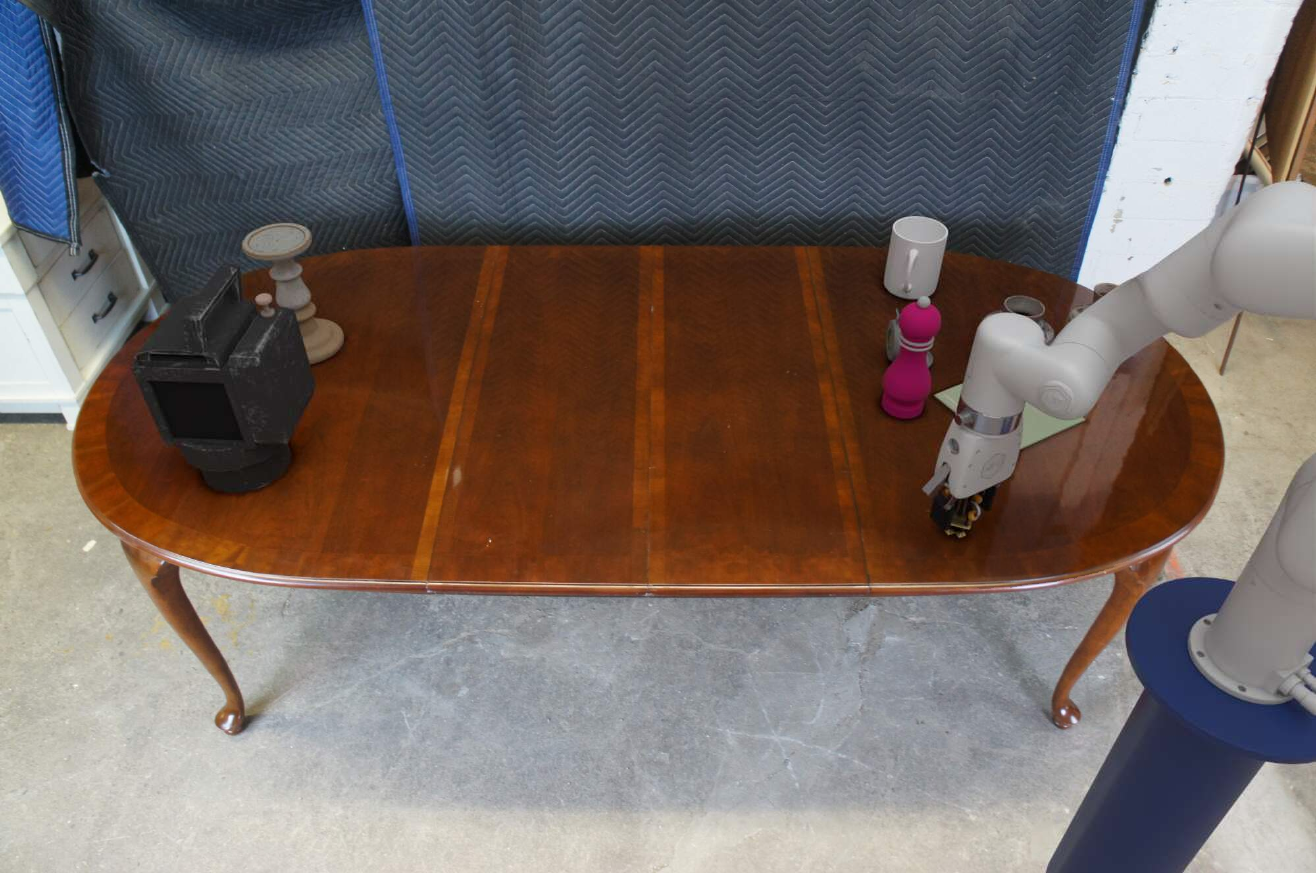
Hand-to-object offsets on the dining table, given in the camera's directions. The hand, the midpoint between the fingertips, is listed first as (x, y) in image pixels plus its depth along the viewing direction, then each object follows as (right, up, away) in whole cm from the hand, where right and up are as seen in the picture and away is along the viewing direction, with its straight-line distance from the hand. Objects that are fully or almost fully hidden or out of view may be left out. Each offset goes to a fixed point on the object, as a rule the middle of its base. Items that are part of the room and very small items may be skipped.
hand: (960, 513), depth 131 cm
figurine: (0, -3, +2) cm, 3 cm away
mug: (+5, +36, +47) cm, 60 cm away
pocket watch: (0, +22, +31) cm, 38 cm away
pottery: (+24, +23, +31) cm, 46 cm away
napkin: (+14, +15, +22) cm, 30 cm away
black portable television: (-98, +6, +12) cm, 99 cm away
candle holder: (-99, +25, +34) cm, 108 cm away
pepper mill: (-2, +15, +22) cm, 27 cm away
